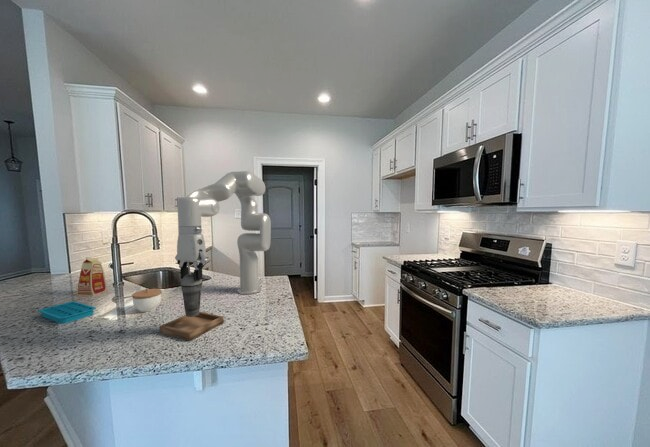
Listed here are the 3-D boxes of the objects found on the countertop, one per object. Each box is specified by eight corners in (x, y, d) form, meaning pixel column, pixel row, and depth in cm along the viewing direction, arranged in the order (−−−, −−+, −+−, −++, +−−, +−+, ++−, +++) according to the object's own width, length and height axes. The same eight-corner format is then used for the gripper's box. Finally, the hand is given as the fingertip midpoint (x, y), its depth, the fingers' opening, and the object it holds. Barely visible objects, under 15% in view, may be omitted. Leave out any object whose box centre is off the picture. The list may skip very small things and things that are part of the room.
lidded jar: (162, 310, 111) (161, 289, 110) (131, 316, 105) (130, 294, 105) (162, 303, 120) (161, 283, 119) (134, 308, 114) (133, 287, 114)
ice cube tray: (74, 307, 116) (73, 301, 116) (97, 314, 108) (97, 307, 108) (37, 317, 105) (37, 310, 105) (60, 326, 97) (60, 318, 97)
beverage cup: (194, 319, 90) (192, 263, 89) (176, 317, 92) (174, 263, 91) (207, 311, 97) (206, 259, 96) (191, 309, 99) (189, 259, 98)
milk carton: (93, 296, 130) (91, 257, 129) (75, 296, 130) (73, 257, 129) (108, 290, 139) (107, 254, 138) (92, 290, 139) (90, 254, 138)
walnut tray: (195, 316, 105) (195, 310, 105) (223, 322, 99) (223, 316, 99) (160, 332, 91) (159, 326, 91) (189, 341, 85) (189, 333, 85)
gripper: (215, 230, 93) (217, 278, 94) (182, 229, 100) (184, 274, 101) (198, 232, 86) (200, 284, 87) (164, 230, 93) (166, 279, 94)
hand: (191, 278), depth 94 cm, fingers closed on beverage cup, 6 cm apart
